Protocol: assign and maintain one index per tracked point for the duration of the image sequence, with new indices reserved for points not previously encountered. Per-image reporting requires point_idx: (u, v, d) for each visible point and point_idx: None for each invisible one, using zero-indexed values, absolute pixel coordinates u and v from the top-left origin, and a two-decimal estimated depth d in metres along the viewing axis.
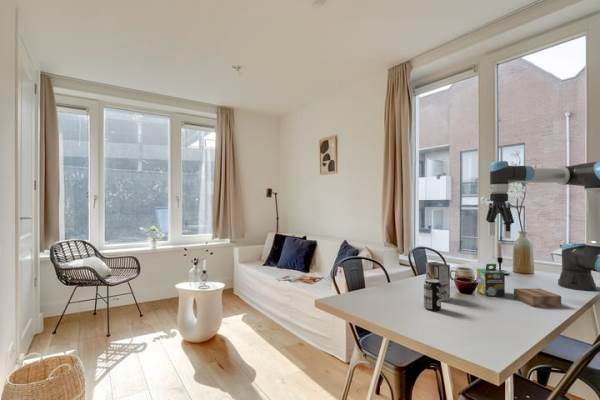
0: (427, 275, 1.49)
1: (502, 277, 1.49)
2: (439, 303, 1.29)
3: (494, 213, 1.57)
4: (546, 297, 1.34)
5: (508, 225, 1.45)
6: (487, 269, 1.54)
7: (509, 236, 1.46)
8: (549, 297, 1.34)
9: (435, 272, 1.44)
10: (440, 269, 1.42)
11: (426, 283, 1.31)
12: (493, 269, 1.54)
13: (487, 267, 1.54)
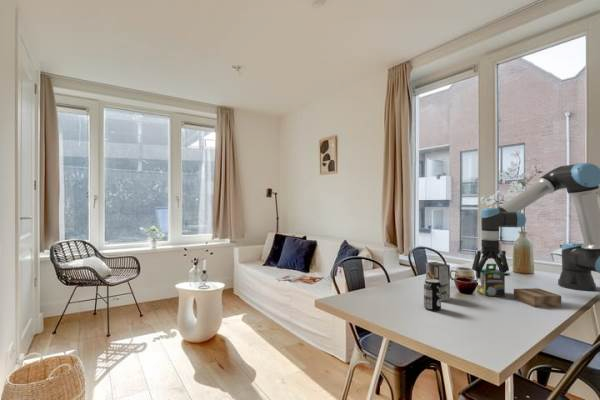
0: (427, 275, 1.49)
1: (502, 277, 1.49)
2: (439, 303, 1.29)
3: (495, 260, 1.55)
4: (547, 297, 1.34)
5: (476, 272, 1.54)
6: (487, 269, 1.54)
7: (480, 283, 1.53)
8: (550, 297, 1.34)
9: (435, 272, 1.44)
10: (440, 269, 1.42)
11: (426, 283, 1.31)
12: (493, 269, 1.54)
13: (487, 267, 1.54)
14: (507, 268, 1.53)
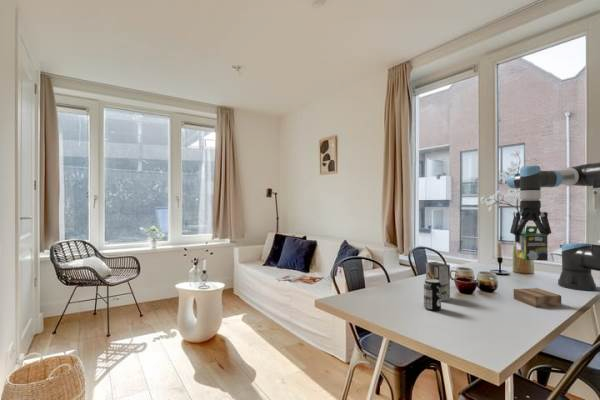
0: (427, 275, 1.49)
1: (545, 240, 1.37)
2: (439, 303, 1.29)
3: (536, 222, 1.42)
4: (547, 297, 1.34)
5: (515, 236, 1.42)
6: (527, 232, 1.42)
7: (519, 247, 1.41)
8: (550, 297, 1.34)
9: (435, 272, 1.44)
10: (440, 269, 1.42)
11: (426, 283, 1.31)
12: (534, 232, 1.41)
13: (527, 230, 1.42)
14: (549, 231, 1.41)
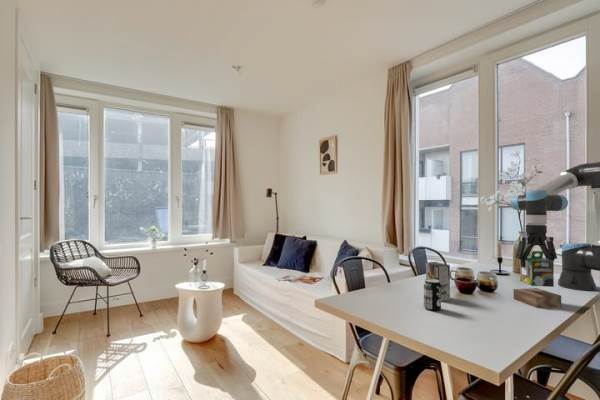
0: (427, 275, 1.49)
1: (551, 265, 1.35)
2: (439, 303, 1.29)
3: (541, 247, 1.41)
4: (548, 297, 1.34)
5: (521, 260, 1.41)
6: (533, 257, 1.40)
7: (525, 273, 1.39)
8: (550, 297, 1.34)
9: (435, 272, 1.44)
10: (440, 269, 1.42)
11: (426, 283, 1.31)
12: (539, 257, 1.40)
13: (532, 254, 1.40)
14: (555, 256, 1.39)
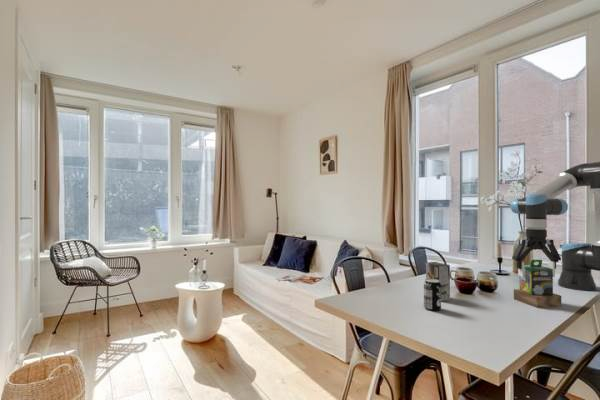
0: (427, 275, 1.49)
1: (550, 274, 1.35)
2: (439, 303, 1.29)
3: (543, 250, 1.41)
4: (548, 297, 1.34)
5: (517, 262, 1.41)
6: (532, 265, 1.40)
7: (521, 274, 1.39)
8: (551, 297, 1.34)
9: (435, 272, 1.44)
10: (440, 269, 1.42)
11: (426, 283, 1.31)
12: (538, 265, 1.40)
13: (531, 263, 1.40)
14: (559, 257, 1.39)
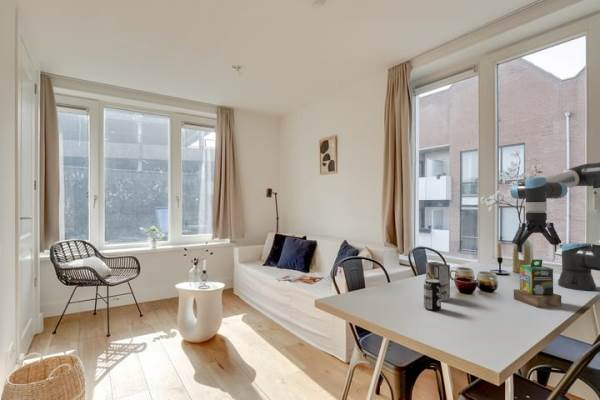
0: (427, 275, 1.49)
1: (550, 274, 1.36)
2: (439, 303, 1.29)
3: (543, 234, 1.41)
4: (548, 297, 1.34)
5: (517, 246, 1.41)
6: (532, 265, 1.40)
7: (522, 258, 1.40)
8: (551, 297, 1.35)
9: (435, 272, 1.44)
10: (440, 269, 1.42)
11: (426, 283, 1.31)
12: (539, 265, 1.40)
13: (532, 263, 1.40)
14: (559, 240, 1.39)
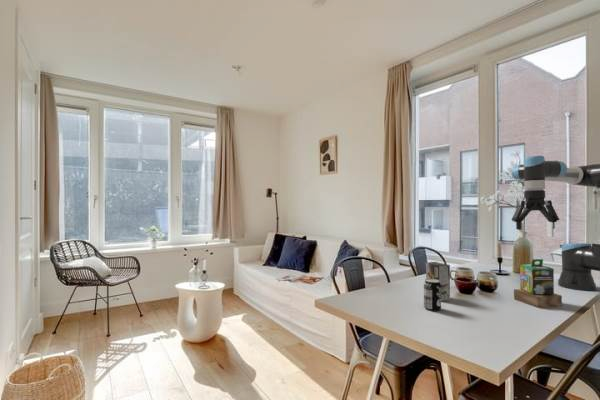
0: (427, 275, 1.49)
1: (551, 274, 1.36)
2: (439, 303, 1.29)
3: (542, 211, 1.44)
4: (549, 297, 1.34)
5: (517, 223, 1.43)
6: (533, 265, 1.40)
7: (521, 235, 1.42)
8: (551, 297, 1.34)
9: (435, 272, 1.44)
10: (440, 269, 1.42)
11: (426, 283, 1.31)
12: (539, 265, 1.40)
13: (532, 263, 1.40)
14: (557, 218, 1.42)
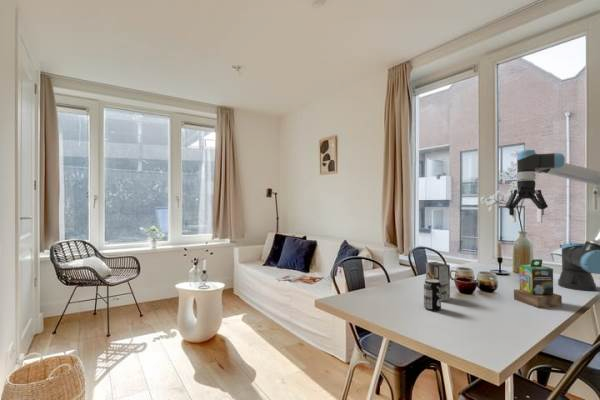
0: (427, 275, 1.49)
1: (550, 274, 1.36)
2: (439, 303, 1.29)
3: (532, 199, 1.62)
4: (549, 297, 1.34)
5: (509, 209, 1.62)
6: (532, 265, 1.40)
7: (513, 220, 1.61)
8: (551, 297, 1.34)
9: (435, 272, 1.44)
10: (440, 269, 1.42)
11: (426, 283, 1.31)
12: (539, 265, 1.40)
13: (532, 263, 1.40)
14: (546, 205, 1.60)
